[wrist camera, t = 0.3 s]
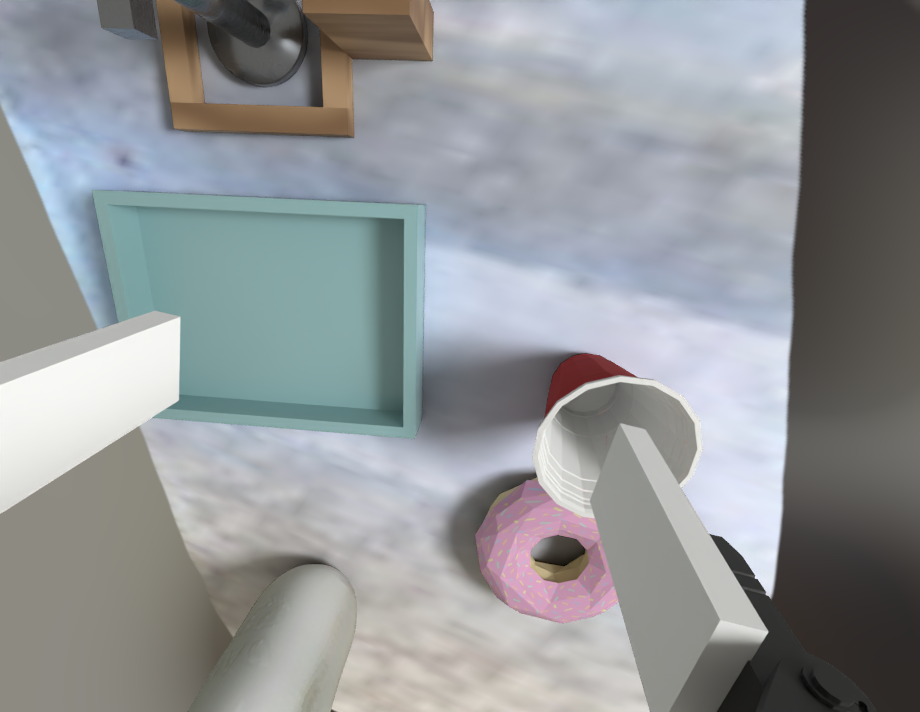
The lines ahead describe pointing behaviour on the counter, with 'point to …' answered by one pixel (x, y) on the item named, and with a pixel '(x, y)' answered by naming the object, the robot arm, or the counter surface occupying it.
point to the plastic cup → (607, 427)
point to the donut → (534, 583)
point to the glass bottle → (287, 647)
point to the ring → (342, 39)
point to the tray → (278, 305)
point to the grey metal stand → (229, 33)
